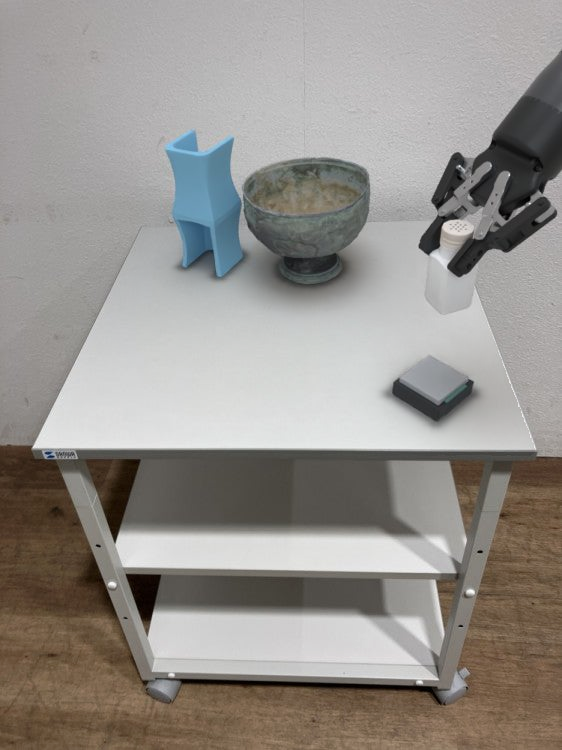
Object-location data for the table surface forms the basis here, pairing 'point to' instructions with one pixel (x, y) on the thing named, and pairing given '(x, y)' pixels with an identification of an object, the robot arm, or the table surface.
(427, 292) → the salt shaker
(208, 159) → the blue curved channel stand
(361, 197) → the bowl
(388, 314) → the table surface
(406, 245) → the table surface
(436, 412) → the kitchen scale
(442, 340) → the table surface
